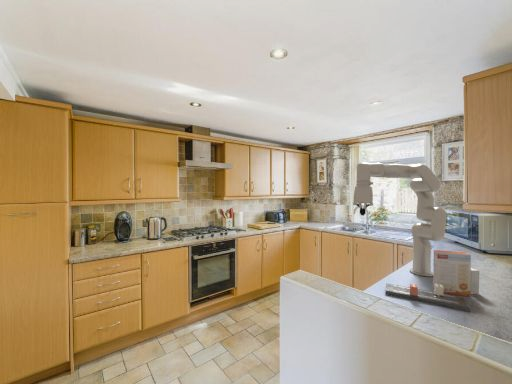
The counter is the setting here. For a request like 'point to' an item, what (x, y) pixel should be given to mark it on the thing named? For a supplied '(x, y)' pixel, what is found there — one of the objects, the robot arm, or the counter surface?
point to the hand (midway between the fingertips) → (362, 215)
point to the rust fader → (413, 289)
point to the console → (428, 297)
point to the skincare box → (474, 281)
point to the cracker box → (452, 272)
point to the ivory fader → (438, 289)
